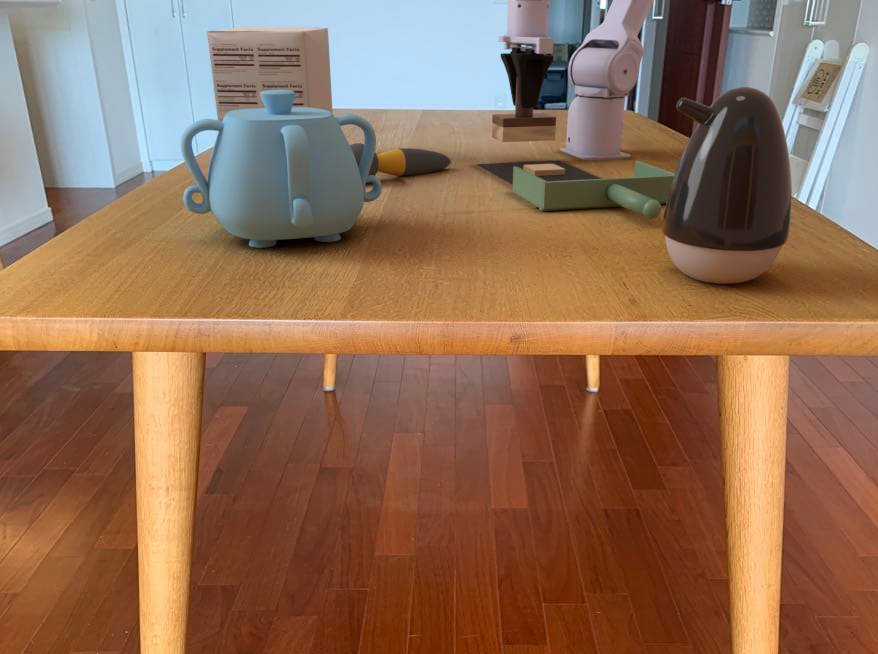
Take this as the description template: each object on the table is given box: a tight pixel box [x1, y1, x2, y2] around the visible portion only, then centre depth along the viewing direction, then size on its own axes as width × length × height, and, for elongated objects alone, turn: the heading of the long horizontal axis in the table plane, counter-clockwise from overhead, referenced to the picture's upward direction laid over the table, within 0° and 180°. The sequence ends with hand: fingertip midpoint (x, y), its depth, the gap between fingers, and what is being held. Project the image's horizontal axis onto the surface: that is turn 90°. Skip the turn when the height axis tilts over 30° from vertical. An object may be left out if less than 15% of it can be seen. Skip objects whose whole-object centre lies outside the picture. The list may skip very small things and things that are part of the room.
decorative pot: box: [180, 90, 383, 249], centre depth 79 cm, size 16×16×14 cm
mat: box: [476, 160, 602, 186], centre depth 112 cm, size 18×13×1 cm
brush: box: [491, 77, 557, 143], centre depth 116 cm, size 5×8×8 cm, turn 106°
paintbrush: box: [349, 142, 452, 177], centre depth 108 cm, size 20×5×5 cm, turn 134°
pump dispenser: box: [661, 86, 793, 285], centre depth 66 cm, size 10×10×15 cm
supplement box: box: [206, 26, 334, 122], centre depth 116 cm, size 17×13×18 cm
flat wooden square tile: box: [523, 164, 565, 176], centre depth 111 cm, size 4×4×1 cm
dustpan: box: [512, 160, 675, 220], centre depth 93 cm, size 20×17×3 cm
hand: (524, 106), depth 116 cm, fingers closed on brush, 2 cm apart
